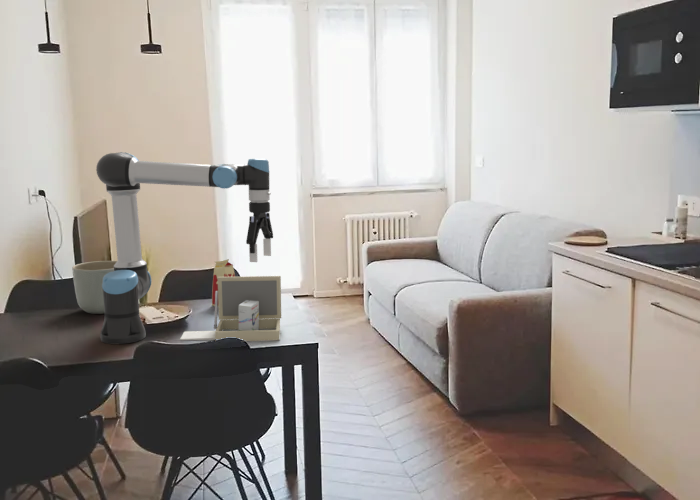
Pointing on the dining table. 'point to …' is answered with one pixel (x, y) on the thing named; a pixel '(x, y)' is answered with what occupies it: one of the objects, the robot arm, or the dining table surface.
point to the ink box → (249, 315)
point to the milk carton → (221, 275)
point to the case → (241, 290)
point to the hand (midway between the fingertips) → (260, 258)
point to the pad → (198, 335)
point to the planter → (91, 284)
